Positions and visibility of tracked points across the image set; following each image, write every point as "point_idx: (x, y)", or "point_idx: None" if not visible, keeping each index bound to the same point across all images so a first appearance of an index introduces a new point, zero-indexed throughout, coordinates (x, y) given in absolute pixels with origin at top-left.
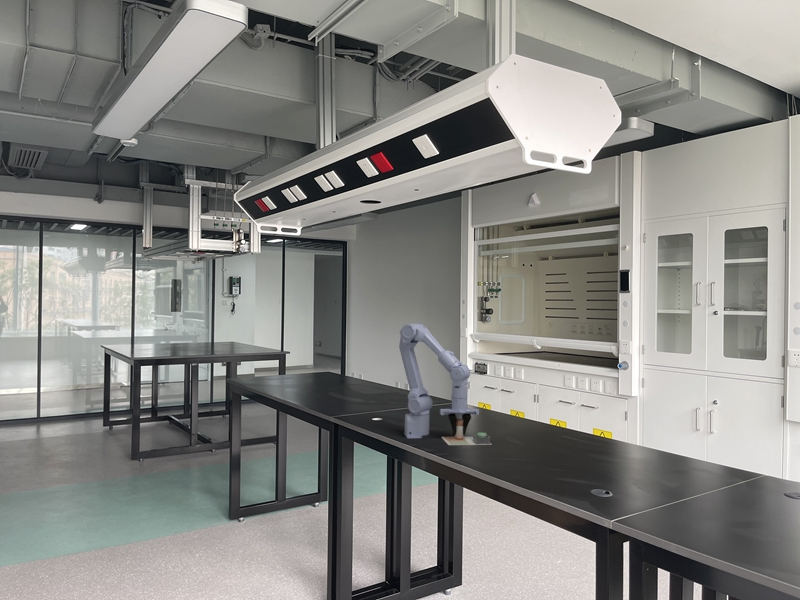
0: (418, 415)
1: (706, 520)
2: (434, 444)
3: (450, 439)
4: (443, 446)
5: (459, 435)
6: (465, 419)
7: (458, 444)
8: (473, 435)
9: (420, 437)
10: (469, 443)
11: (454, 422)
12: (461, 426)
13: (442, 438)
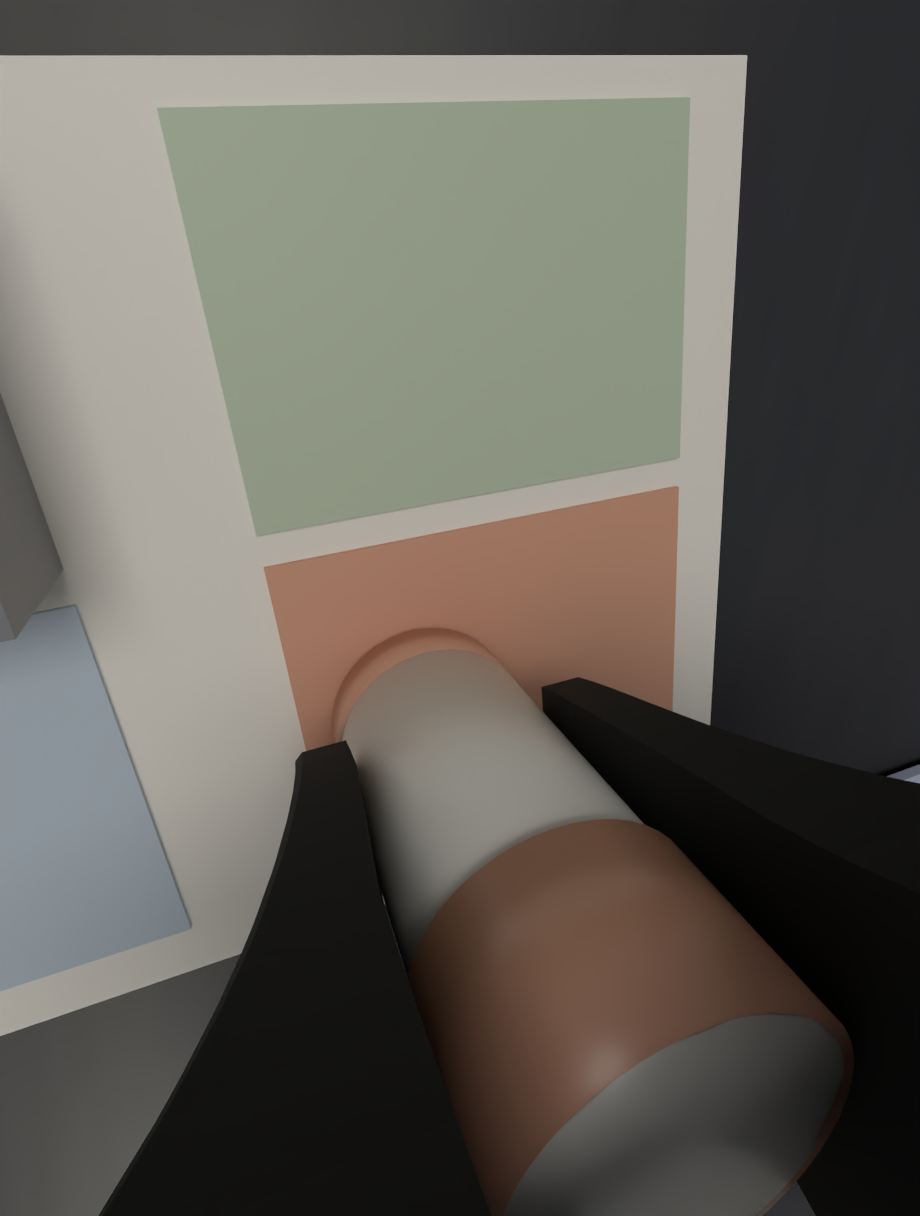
0: None
1: None
2: (836, 452)
3: (600, 619)
4: (741, 298)
5: (453, 665)
6: (449, 1161)
7: (511, 99)
8: (7, 594)
9: (916, 772)
10: (177, 254)
11: (885, 819)
12: (492, 845)
13: (711, 687)
